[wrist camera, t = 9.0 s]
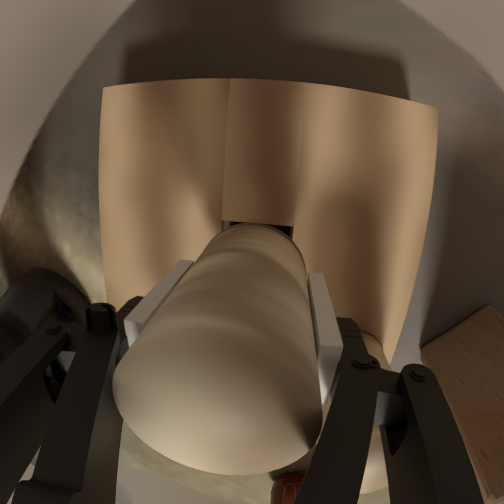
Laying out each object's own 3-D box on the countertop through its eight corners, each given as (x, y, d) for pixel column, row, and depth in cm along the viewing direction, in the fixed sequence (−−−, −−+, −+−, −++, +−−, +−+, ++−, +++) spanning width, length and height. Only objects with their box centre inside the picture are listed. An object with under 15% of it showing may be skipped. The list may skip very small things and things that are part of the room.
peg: (215, 284, 23) (132, 454, 9) (218, 204, 21) (91, 313, 7) (296, 292, 23) (302, 481, 8) (306, 211, 21) (349, 347, 6)
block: (415, 346, 28) (492, 505, 9) (489, 298, 26) (600, 415, 7) (433, 398, 30) (486, 528, 11) (497, 357, 28) (573, 466, 9)
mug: (326, 489, 37) (328, 540, 28) (272, 493, 39) (268, 544, 29) (322, 452, 34) (326, 515, 24) (258, 458, 35) (250, 519, 26)
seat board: (138, 338, 31) (62, 448, 15) (132, 96, 23) (-7, 61, 8) (367, 362, 29) (405, 493, 14) (412, 115, 22) (546, 88, 6)
